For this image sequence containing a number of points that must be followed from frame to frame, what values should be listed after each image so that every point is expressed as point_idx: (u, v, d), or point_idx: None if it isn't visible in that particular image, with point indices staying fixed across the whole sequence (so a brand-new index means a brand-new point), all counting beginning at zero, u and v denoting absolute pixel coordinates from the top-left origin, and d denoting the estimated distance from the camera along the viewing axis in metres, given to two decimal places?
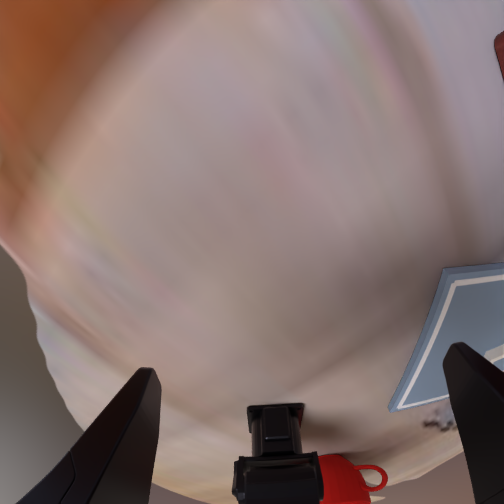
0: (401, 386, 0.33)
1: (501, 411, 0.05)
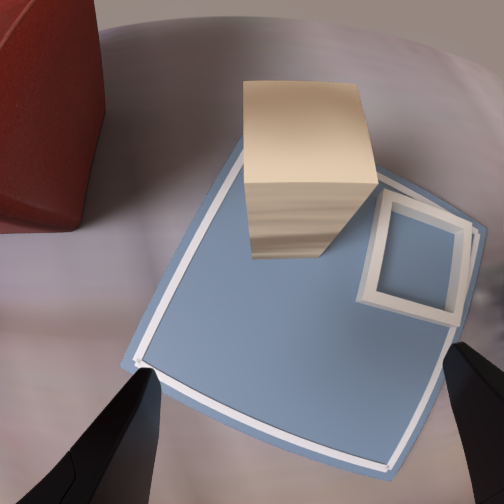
0: (329, 463, 0.19)
1: (501, 411, 0.05)
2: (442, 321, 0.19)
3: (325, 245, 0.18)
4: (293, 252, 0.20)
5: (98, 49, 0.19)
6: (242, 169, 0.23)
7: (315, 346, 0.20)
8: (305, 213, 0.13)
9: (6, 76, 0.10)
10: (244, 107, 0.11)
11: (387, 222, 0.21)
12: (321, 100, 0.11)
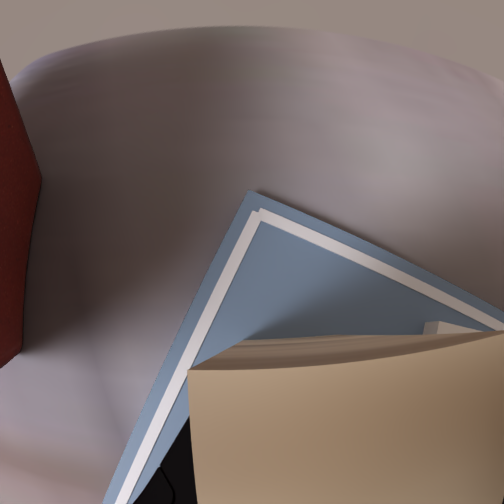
0: None
1: None
2: None
3: None
4: None
5: (8, 101, 0.12)
6: (229, 293, 0.15)
7: None
8: None
9: None
10: (199, 480, 0.03)
11: None
12: (438, 426, 0.03)
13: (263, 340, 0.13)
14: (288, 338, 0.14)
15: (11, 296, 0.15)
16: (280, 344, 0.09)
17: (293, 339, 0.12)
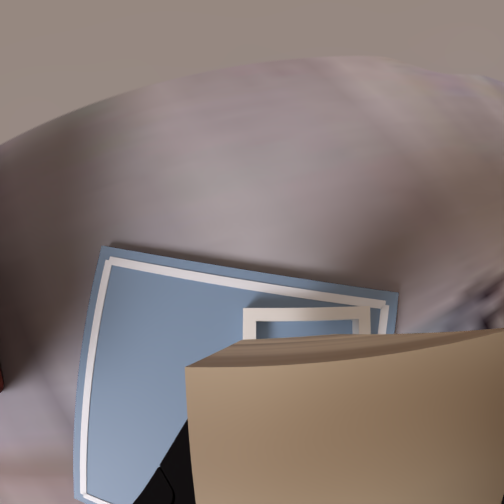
0: None
1: None
2: None
3: None
4: None
5: None
6: (102, 318, 0.21)
7: None
8: None
9: None
10: (196, 478, 0.03)
11: None
12: (436, 425, 0.03)
13: None
14: None
15: None
16: (279, 343, 0.09)
17: (292, 338, 0.13)
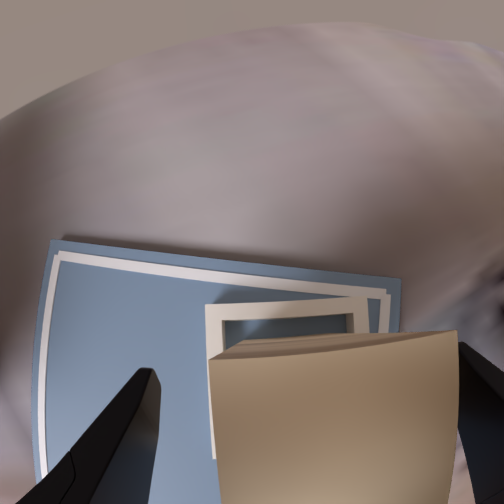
0: None
1: (501, 411, 0.05)
2: None
3: None
4: None
5: None
6: (52, 321, 0.17)
7: (189, 498, 0.14)
8: None
9: None
10: (217, 438, 0.05)
11: None
12: (385, 400, 0.05)
13: (262, 339, 0.15)
14: (284, 337, 0.16)
15: None
16: (275, 342, 0.11)
17: None
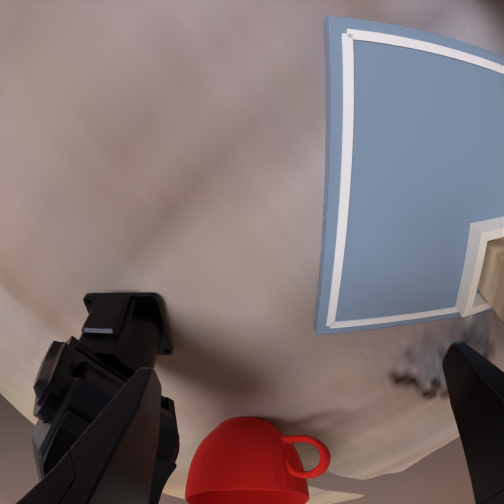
0: (321, 274, 0.22)
1: (501, 411, 0.05)
2: (466, 302, 0.21)
3: (495, 310, 0.19)
4: (490, 281, 0.20)
5: None
6: None
7: (433, 206, 0.19)
8: None
9: None
10: None
11: None
12: None
13: None
14: None
15: None
16: None
17: None
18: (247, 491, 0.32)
